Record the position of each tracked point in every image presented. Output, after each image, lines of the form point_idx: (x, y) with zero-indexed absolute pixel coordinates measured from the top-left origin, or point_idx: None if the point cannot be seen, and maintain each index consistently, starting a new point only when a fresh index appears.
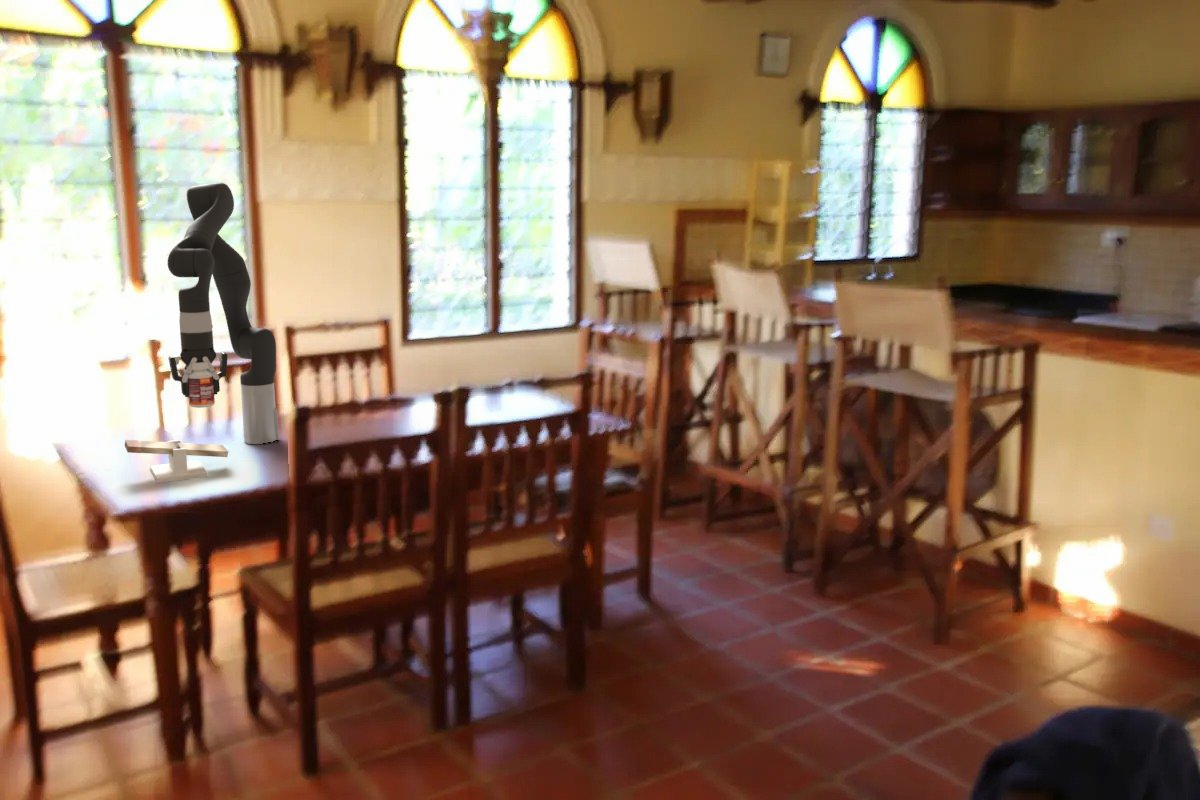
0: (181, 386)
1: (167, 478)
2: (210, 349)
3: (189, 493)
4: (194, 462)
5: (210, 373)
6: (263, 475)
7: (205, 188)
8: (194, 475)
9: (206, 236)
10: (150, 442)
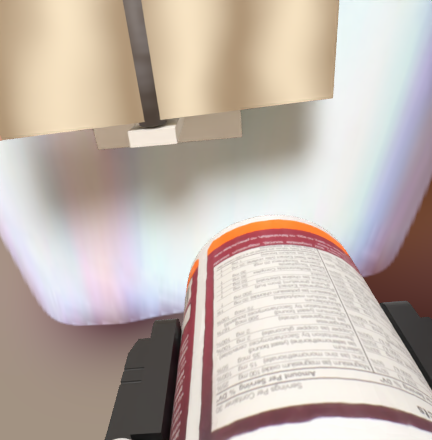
0: (118, 411)
1: (127, 145)
2: None
3: (186, 267)
4: None
5: None
6: (386, 181)
7: None
8: (204, 138)
9: None
10: (15, 16)
